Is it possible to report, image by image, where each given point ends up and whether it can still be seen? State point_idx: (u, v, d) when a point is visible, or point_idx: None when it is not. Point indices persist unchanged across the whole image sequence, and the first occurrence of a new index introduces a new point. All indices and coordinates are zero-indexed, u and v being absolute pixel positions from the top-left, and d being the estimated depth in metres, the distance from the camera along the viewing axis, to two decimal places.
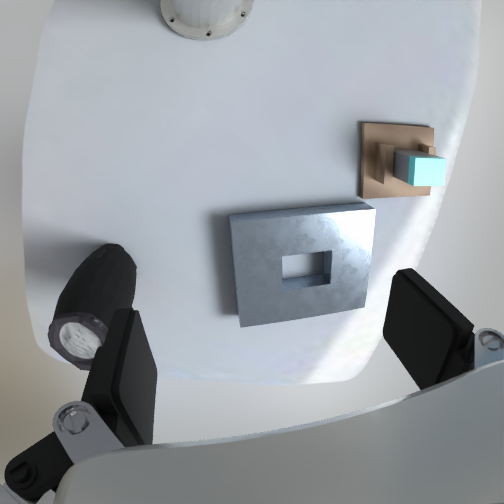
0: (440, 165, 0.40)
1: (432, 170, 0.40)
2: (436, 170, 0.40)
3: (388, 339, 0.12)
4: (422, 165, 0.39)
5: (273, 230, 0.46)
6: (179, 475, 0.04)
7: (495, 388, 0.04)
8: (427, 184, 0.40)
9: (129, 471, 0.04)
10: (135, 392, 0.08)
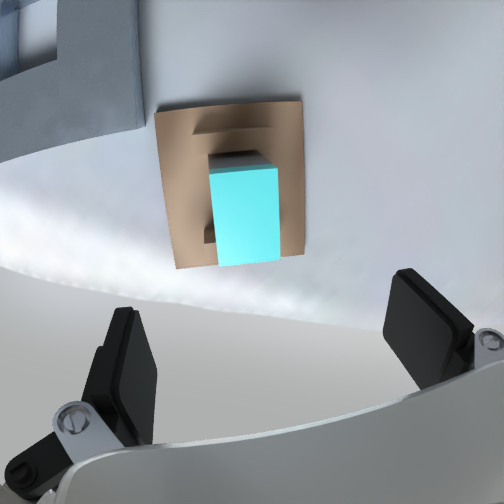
0: (264, 245, 0.21)
1: (251, 224, 0.20)
2: (252, 236, 0.20)
3: (388, 339, 0.12)
4: (261, 191, 0.19)
5: None
6: (179, 475, 0.04)
7: (495, 388, 0.04)
8: (216, 216, 0.19)
9: (130, 472, 0.04)
10: (135, 392, 0.08)
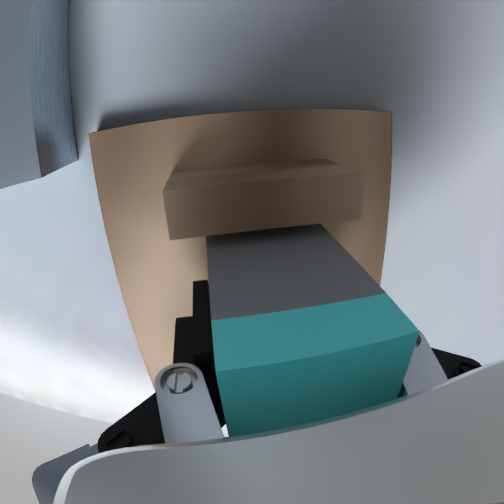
0: None
1: None
2: None
3: None
4: (363, 389, 0.06)
5: None
6: (179, 475, 0.04)
7: (495, 388, 0.04)
8: None
9: (130, 471, 0.04)
10: None
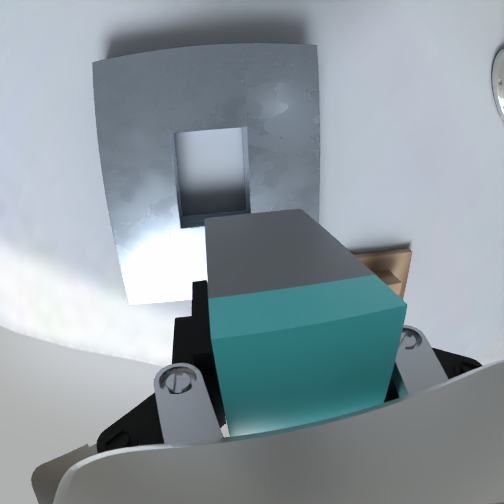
0: None
1: None
2: None
3: None
4: (356, 365, 0.07)
5: (298, 111, 0.24)
6: (179, 475, 0.04)
7: (495, 388, 0.04)
8: (235, 424, 0.07)
9: (129, 472, 0.04)
10: None
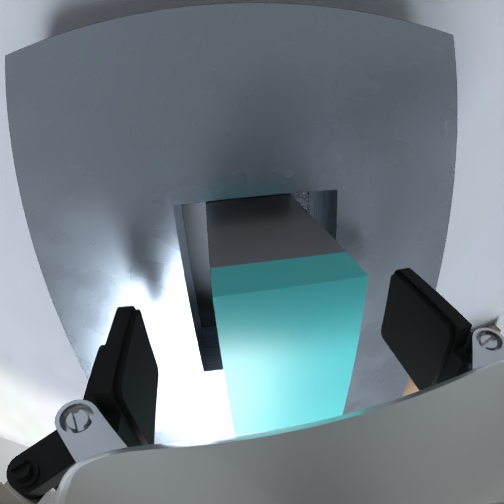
0: (319, 403, 0.10)
1: (300, 378, 0.09)
2: (299, 394, 0.10)
3: (386, 339, 0.12)
4: (327, 324, 0.09)
5: (426, 158, 0.12)
6: (179, 475, 0.04)
7: (495, 388, 0.04)
8: (230, 371, 0.09)
9: (129, 471, 0.04)
10: (137, 391, 0.08)
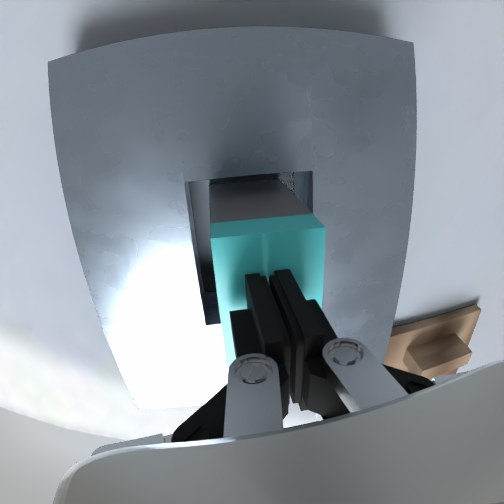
0: None
1: None
2: None
3: None
4: (296, 265, 0.12)
5: (388, 145, 0.15)
6: (179, 475, 0.04)
7: (495, 388, 0.04)
8: (223, 302, 0.12)
9: (129, 471, 0.04)
10: None
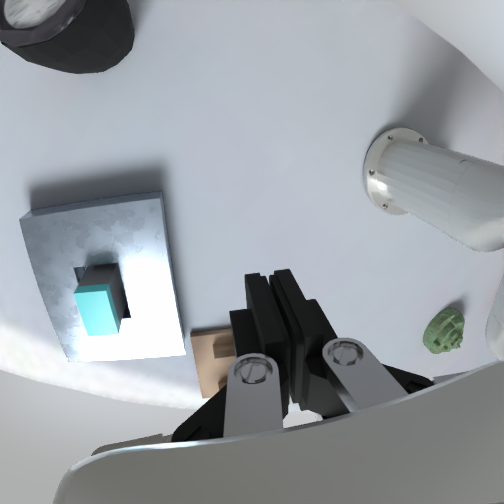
0: (108, 327, 0.34)
1: (99, 317, 0.33)
2: (100, 322, 0.34)
3: None
4: (100, 302, 0.32)
5: (150, 249, 0.36)
6: (179, 475, 0.04)
7: (495, 388, 0.04)
8: (81, 312, 0.33)
9: (130, 471, 0.04)
10: None
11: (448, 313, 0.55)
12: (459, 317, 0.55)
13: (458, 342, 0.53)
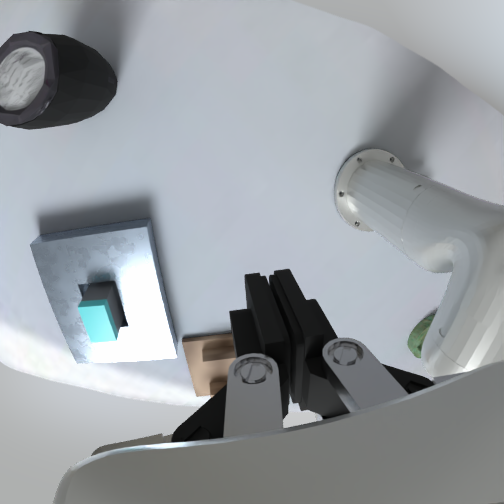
0: (107, 335, 0.40)
1: (99, 326, 0.39)
2: (101, 331, 0.40)
3: None
4: (99, 314, 0.39)
5: (141, 269, 0.42)
6: (179, 475, 0.04)
7: (495, 388, 0.04)
8: (84, 323, 0.39)
9: (130, 471, 0.04)
10: None
11: (431, 319, 0.58)
12: None
13: None
